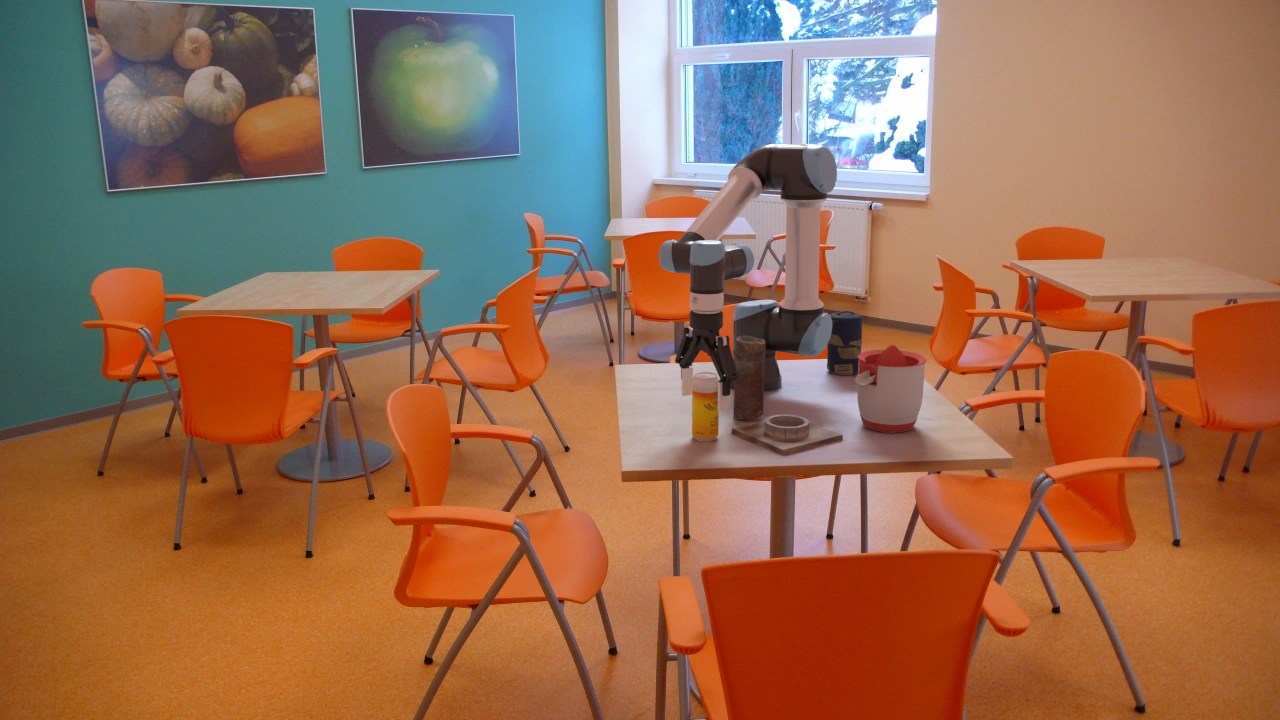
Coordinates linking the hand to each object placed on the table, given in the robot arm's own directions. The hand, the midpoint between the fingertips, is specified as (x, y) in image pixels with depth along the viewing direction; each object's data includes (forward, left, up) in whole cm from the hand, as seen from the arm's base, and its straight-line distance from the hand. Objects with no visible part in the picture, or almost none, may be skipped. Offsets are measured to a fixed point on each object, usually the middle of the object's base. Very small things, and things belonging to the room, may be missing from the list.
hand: (704, 401), depth 226 cm
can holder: (+10, +16, -9) cm, 21 cm away
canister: (-23, +67, -9) cm, 72 cm away
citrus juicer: (+18, +40, -9) cm, 45 cm away
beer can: (0, 0, -9) cm, 9 cm away
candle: (-6, +18, -9) cm, 21 cm away
